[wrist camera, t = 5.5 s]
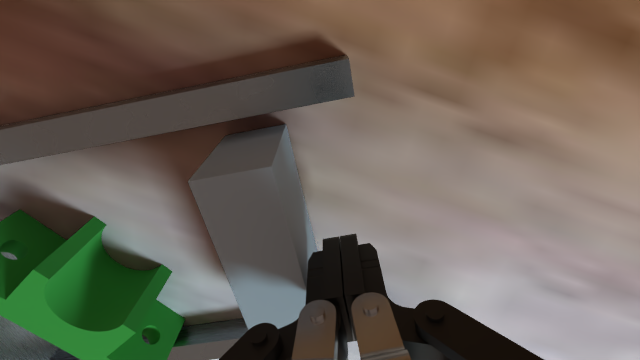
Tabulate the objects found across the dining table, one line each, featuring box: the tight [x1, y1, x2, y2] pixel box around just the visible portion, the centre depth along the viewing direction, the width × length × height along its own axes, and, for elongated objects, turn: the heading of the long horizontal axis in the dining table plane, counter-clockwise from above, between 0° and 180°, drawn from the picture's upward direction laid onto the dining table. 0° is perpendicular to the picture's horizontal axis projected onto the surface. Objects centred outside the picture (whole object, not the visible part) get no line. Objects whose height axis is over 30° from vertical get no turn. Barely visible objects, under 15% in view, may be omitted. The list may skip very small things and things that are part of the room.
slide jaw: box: [188, 124, 317, 330], centre depth 16 cm, size 11×3×5 cm, turn 11°
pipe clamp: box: [0, 210, 185, 360], centre depth 18 cm, size 11×4×5 cm, turn 43°
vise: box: [0, 55, 357, 360], centre depth 17 cm, size 16×25×5 cm, turn 101°
